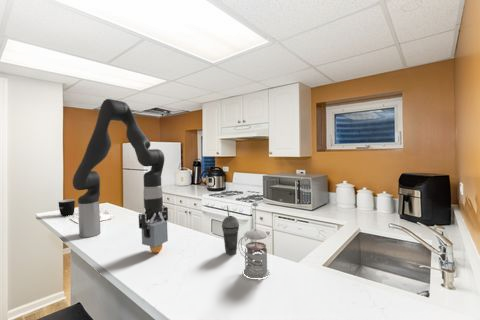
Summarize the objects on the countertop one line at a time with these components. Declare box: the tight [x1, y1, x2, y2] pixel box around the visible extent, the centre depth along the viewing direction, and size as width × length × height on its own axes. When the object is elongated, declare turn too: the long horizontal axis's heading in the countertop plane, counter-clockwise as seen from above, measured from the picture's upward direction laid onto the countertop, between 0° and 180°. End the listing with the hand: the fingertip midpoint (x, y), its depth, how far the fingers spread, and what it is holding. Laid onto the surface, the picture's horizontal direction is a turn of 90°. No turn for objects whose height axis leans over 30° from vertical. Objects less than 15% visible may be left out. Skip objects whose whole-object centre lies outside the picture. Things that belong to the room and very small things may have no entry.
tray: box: [70, 209, 113, 225], centre depth 158 cm, size 20×28×4 cm
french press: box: [237, 202, 271, 278], centre depth 85 cm, size 10×12×25 cm
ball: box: [149, 244, 163, 254], centre depth 103 cm, size 5×5×5 cm
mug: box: [58, 198, 76, 217], centre depth 164 cm, size 12×9×10 cm
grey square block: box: [141, 220, 169, 247], centre depth 103 cm, size 7×7×9 cm
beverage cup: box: [221, 205, 240, 256], centre depth 101 cm, size 7×7×20 cm
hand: (154, 234), depth 103 cm, fingers closed on grey square block, 7 cm apart
